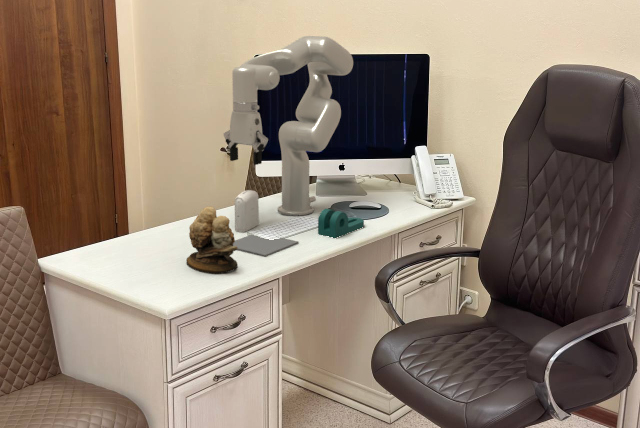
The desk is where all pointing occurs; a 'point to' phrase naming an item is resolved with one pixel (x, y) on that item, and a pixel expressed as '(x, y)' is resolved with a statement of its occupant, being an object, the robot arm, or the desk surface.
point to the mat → (263, 245)
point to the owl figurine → (212, 243)
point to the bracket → (337, 223)
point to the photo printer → (246, 211)
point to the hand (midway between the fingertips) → (245, 162)
